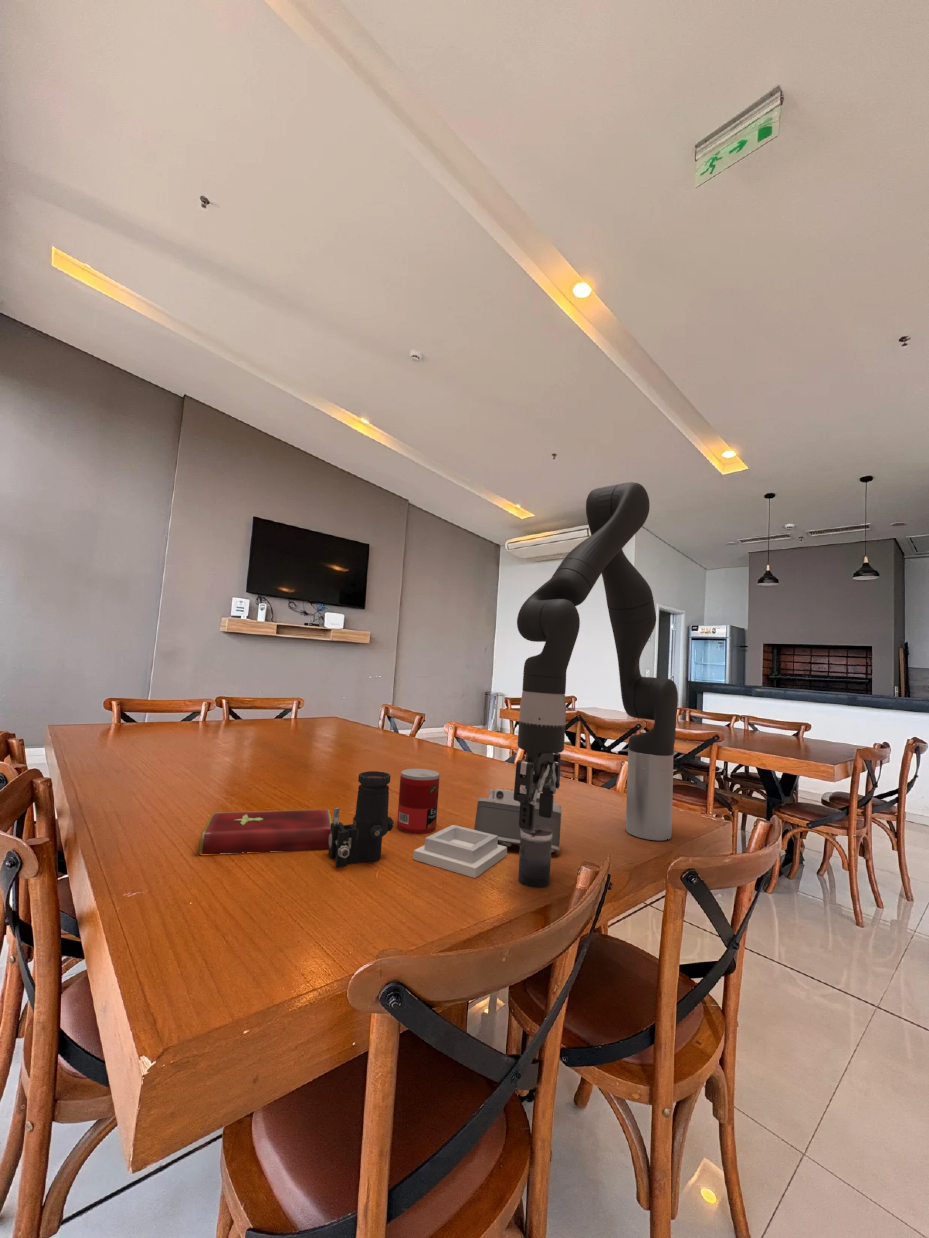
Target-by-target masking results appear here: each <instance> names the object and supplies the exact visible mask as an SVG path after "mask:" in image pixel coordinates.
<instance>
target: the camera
mask: <svg viewBox="0 0 929 1238" xmlns="http://www.w3.org/2000/svg"><path fill="white" fill-rule="evenodd" d="M532 792H533V791H532ZM540 793H542V792H540ZM540 793H538V795H537V798H536V802H535V816H534V825H542V826H545V827H548V828H550V829H551V830H552V846H551V854H554V852H559V851H560V841H561V840H560V838H561V824H562V823H561V822H562V812H563V811H562V805H561V804H560V803H559V804H558V803H556V801H555V800H553V815H552V817H551V818H545V817H541V816H540V815H539V800H540ZM476 806H477V807H476V814H475V822H474V827H473V830H477V831H481V832H485V833H489V834H493V835H497V836H498V843H500V845H501V846H505V847H507V848H508V847H512V845H513V846H514V845H515V846H519V847H520V829H521V828H520V827H519V814H520V803H519V802H518V801H515V800H514V789H513V788H510V790H509V789H508V790H507V789H501V788H495V789H492V788H491V789H489V790H488V798H487V797H478V798H477V805H476Z"/></svg>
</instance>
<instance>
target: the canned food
mask: <svg viewBox="0 0 929 1238" xmlns="http://www.w3.org/2000/svg"><path fill="white" fill-rule="evenodd" d="M439 789H440V772H438V771H436V770H432V769H427V768H407V769H404V770H401V772H400V779H399V789H398V790H399V793H398V804H397V805H398V806H397V807H398V808H397V809H398V810H397V818H396V819H397V821H396V822H397V827H398V829H399V830H400V831H403V832H405V833H409V834H414V835H415V834H429V833H431V832H434V831H435V830H436V827H437V820H438V819H437V817H438V802H439Z"/></svg>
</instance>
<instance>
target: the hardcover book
mask: <svg viewBox="0 0 929 1238" xmlns="http://www.w3.org/2000/svg"><path fill="white" fill-rule="evenodd" d="M331 823H333V818H332V815H331V809H330V808H328V809H327V808H324V809H323V808H321V809H285V810H254V811H253V810H249V811H219V812H218V811H217V812H215V811H214V812H212V814H211V815H210V818H209V819H208V821H207V823H206V825H205V827H204V829H203V830H202V832H201V836H200V841H199V842H200V844H199V850H198V851H199V852H198V853H199V854H220V853H242V852H244V853H247V852H269V853H271V852H270V851H289V852H303V851H304V850H305V851H307V852H308V851H322V850H324V851H326V850H328V851H329V849H330V848H331V847H330V846H329V835H330V834H331ZM199 854H198V855H199Z"/></svg>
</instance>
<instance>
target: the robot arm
mask: <svg viewBox="0 0 929 1238" xmlns="http://www.w3.org/2000/svg"><path fill="white" fill-rule="evenodd" d="M585 500H586V501H585V515H586V519H587V525H588V529H589V532H590V536H588V537H587V538H586V539H584V540H583V541H581V542H580V543H579V544H577V545H576V546H575V547H574V548H573V549H572V550H571V551H569V552H568V553H567V555H565V557H563V560H562V561H561V562H560V564H559V565H558V567H557V568H556V570H555V571H554V573H553V575H552V576H551V577H550V579H549V580H547V581H546V582H545V583H544V584H541V586H540V587H538V589H536V590H535V591H534V592H533V593H532V594H531V595H529V596H528V598H526V600H525V602H523V604H522V605H521V607H520V609H519V611H518V614H517V618H516V627H517V630H518V633H519V634H520V636H521V637H522V638H524V639H525V640H527V641H530V642H532V643H533V642H534V643H535V642H536V643H538V642H539V643H541V642H543V643H544V646H543V648H542V650H541V652H540V653H539V654H536V655H533V656H530V657H528V658H526V660H525V661H524V664H523V665H524V666H523V676H522V677H523V678H522V692H521V698H520V701H519V702H520V703H519V715H518V729H517V730H518V731H517V733H518V734H517V747H518V748H519V749H521V750H522V751H523V750H524V751H525V752H526V754H525V755H526V756H525V759H524V760H520V759H518V760H517V761H516V765H515V766H516V767H515V777H514V787H513V788H514V789H513V791H514V800H515V801H518V802H519V803H520V814H519V827H520V828H522V829H526V830H532V829H533V828H534V816H535V802H536V798H537V795H538V793H540V792H541V793H540V800H539V815H540V816H541V817H545V818H551V817H552V815H553V801H554V797H555V794H556V793H557V789H559V788H560V786H561V785H560V784H561V783H560V779H561V758H562V757H561V753H562V752H563V751H564V750H565V738H566V721H567V720H566V717H567V703H566V692H567V691H566V689H567V687H566V686H567V670H568V666H569V664H570V661H571V658H572V654H573V651H574V648H575V644H576V642H577V639H578V636H579V635H578V634H579V632H580V626H581V625H580V624H581V620H580V619H581V618H580V613H579V611H578V609H577V606H580V605H581V604H583V603H584V602H585V600H586V599H587V597H588V596H589V594H590V593H591V591H592V589H593V588H594V587H595V585H596V583H597V581H598V580H599V578H600V576H601V577H602V581H603V587H604V592H605V598H606V600H605V601H606V605H607V611H608V616H609V620H610V621H609V622H610V625H611V629H612V630H611V631H612V634H613V639H614V644H615V650H616V656H617V664H618V674H619V675H618V676H619V684H620V685H619V687H620V693H621V694H620V696H621V701H622V706H623V708H624V711H625V712H626V715H628V716H629V717H631V718H634V719H642V720H649V721H654V722H653V727H652V728H651V729H650V730H648V731H646V732H644V733H638V734H634V735H631V736H630V737H629V739H628V744H627V745H628V750H627V751H628V752H627V774H626V775H627V776H626V777H627V779H626V781H627V782H626V804H625V805H626V807H625V809H626V810H625V832H626V833H628V834H629V835H632V836H634V837H637V838H640V839H644V840H648V841H649V840H651V841H668V840H670V839H671V838H672V831H673V830H672V827H673V826H672V825H673V823H672V822H673V796H674V795H673V792H674V791H673V790H674V787H673V786H674V750H675V749H674V748H675V741H676V728H677V715H678V707H679V706H678V705H679V703H678V702H679V694H678V688H677V685H676V683H675V681H674V680H673V679H670V678H664V677H652V676H650V677H649V676H642V674H641V669H640V661H641V655H642V653H643V652H644V649H645V647H646V645H647V643H648V642H649V640H650V638H651V635H652V634H653V632H654V630H655V627H656V624H657V614H656V612H657V611H656V607H655V600H654V595H653V591H652V588H651V586H650V585H649V583H648V581H647V580H646V579H645V578H644V576H643V575H642V574H641V573H640V572H639V570H638V569H637V568H636V567H635V566H634V565H633V564H632V563H631V561H630V560H629V558H628V557H627V556H626V554H625V552H624V550H623V548H624V547H625V546H626V545H627V544H628V543H629V542H630V540H631V539H632V538H633V537H634V536H635V535H636V534H637V532H639V531H640V530H641V528H642V527H643V526H644V524H645V523H646V522H647V519H648V516H649V513H650V497H649V494H648V492H647V489H646V487H644V486H643V485H642V484H641V483H639V482H632V481H631V482H624V483H618V484H612V485H608V486H603V487H598V488H594V489H592V490H591V491H589V493H588V495H587V498H586V499H585ZM532 791H533V792H532ZM667 839H668V840H667Z"/></svg>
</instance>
